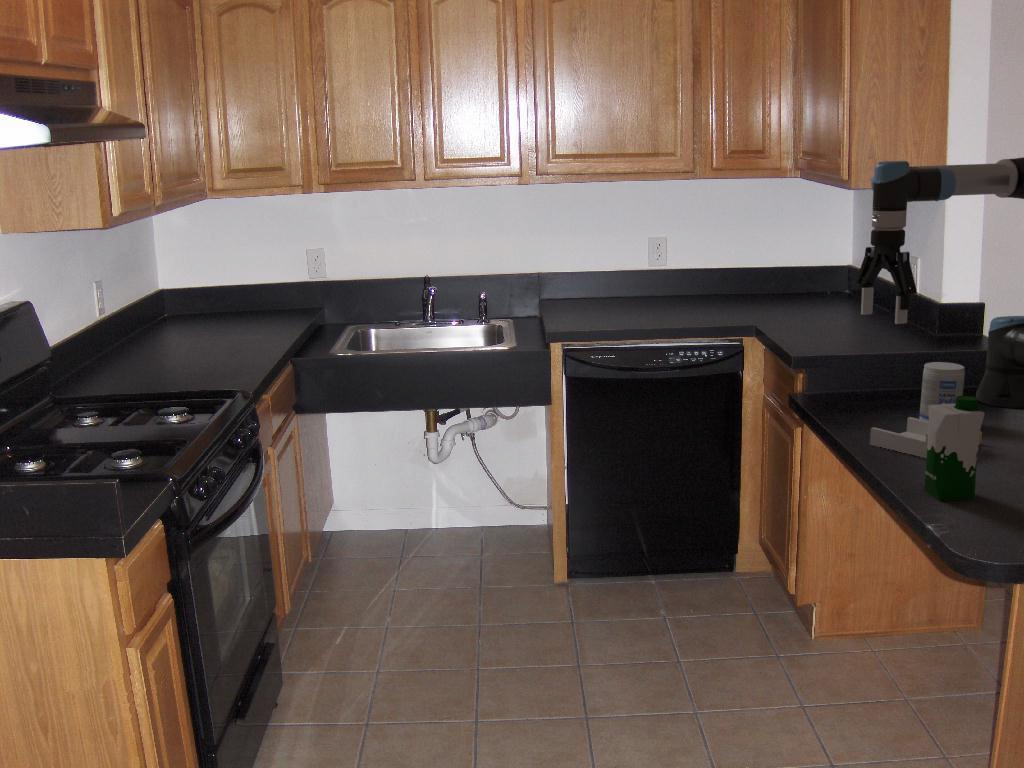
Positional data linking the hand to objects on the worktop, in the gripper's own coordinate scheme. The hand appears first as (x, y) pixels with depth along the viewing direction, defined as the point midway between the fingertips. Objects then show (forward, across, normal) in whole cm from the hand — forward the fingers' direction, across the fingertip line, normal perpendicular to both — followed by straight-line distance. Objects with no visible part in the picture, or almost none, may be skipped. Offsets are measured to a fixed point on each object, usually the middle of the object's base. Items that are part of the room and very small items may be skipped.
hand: (883, 318), depth 247 cm
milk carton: (+28, +44, -13) cm, 54 cm away
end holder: (+28, +14, +2) cm, 31 cm away
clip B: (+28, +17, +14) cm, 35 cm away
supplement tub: (+28, -1, +19) cm, 34 cm away
